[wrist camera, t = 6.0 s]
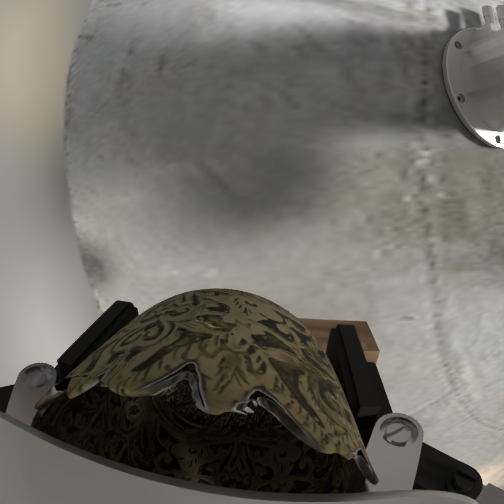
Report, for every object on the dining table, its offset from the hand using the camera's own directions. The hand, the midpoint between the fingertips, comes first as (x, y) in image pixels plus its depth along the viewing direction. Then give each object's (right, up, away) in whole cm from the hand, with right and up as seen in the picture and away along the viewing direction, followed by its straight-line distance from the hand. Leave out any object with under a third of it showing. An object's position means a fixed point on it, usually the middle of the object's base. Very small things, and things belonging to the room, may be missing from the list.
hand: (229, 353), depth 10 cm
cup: (0, +1, +2) cm, 2 cm away
